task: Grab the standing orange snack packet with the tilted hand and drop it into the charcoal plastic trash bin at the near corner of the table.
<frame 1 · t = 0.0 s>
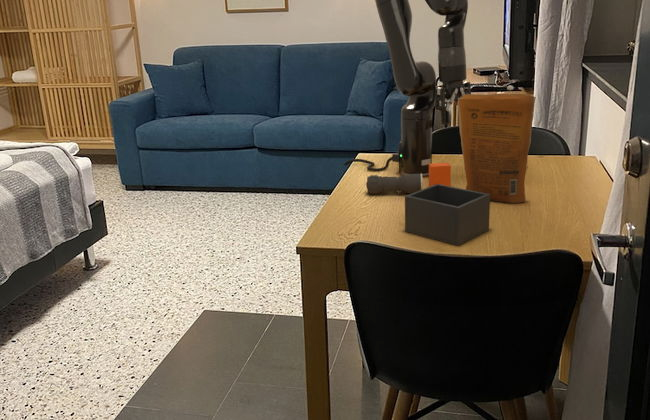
hand: (454, 121, 187), 17 cm above the table, tool pointing down, fingers open, 8 cm apart
trash bin: (446, 230, 153), on the table
pancake mix bag: (493, 200, 174), on the table
flashlight: (395, 194, 183), on the table
french press: (509, 168, 203), on the table
packet: (439, 205, 170), on the table
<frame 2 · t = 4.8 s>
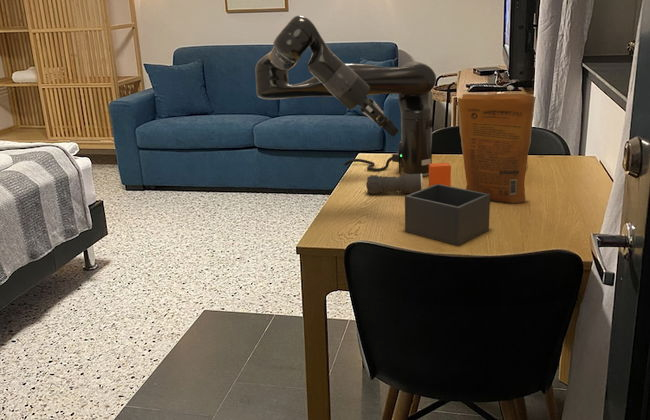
hand: (393, 130, 164), 20 cm above the table, tool tilted 45°, fingers open, 8 cm apart
nothing on the table moved.
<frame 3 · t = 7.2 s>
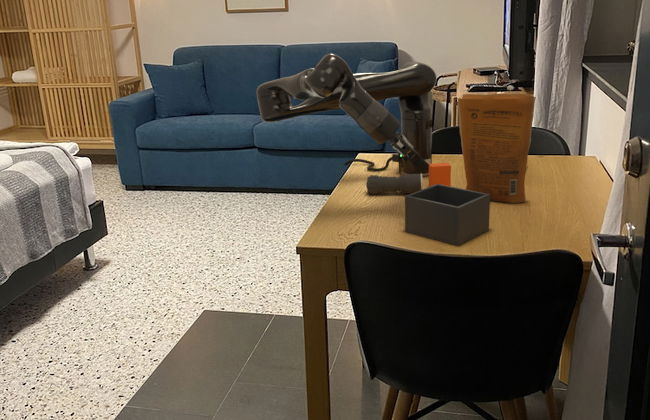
hand: (422, 163, 167), 12 cm above the table, tool tilted 45°, fingers open, 8 cm apart
nothing on the table moved.
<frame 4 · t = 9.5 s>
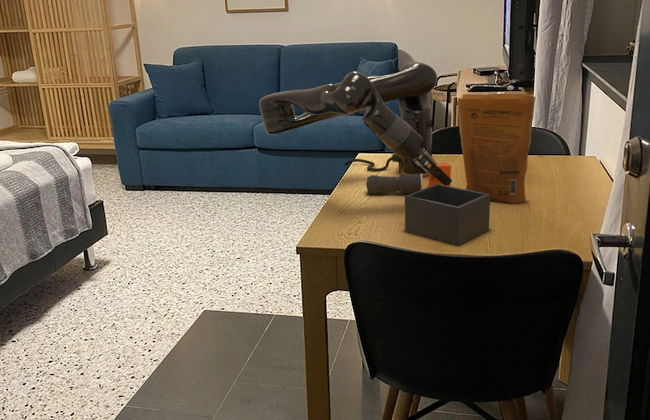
hand: (447, 181, 169), 6 cm above the table, tool tilted 45°, fingers closed on packet, 3 cm apart
packet: (439, 205, 170), on the table, touching gripper
everything else where it was.
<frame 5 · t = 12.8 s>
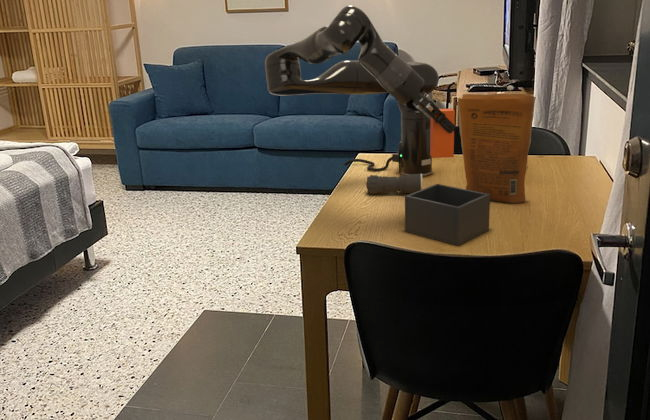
hand: (450, 128, 155), 22 cm above the table, tool tilted 45°, fingers closed on packet, 3 cm apart
packet: (441, 156, 157), point 15 cm above the table, touching gripper
everything else where it was.
when the fingers open (15 cm above the table, at t = 16.2 s): packet drops 8 cm, resting on trash bin.
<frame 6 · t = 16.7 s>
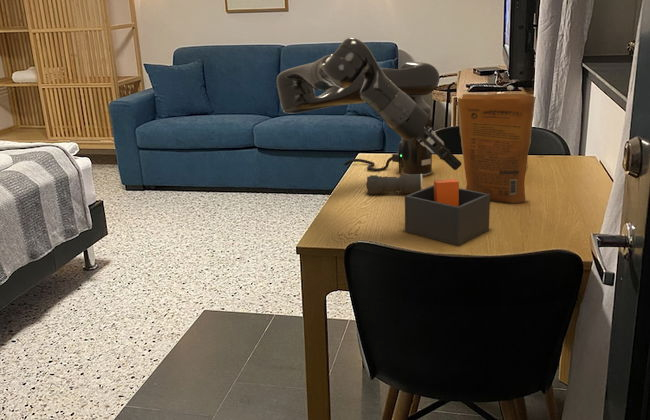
hand: (453, 162, 148), 16 cm above the table, tool tilted 45°, fingers open, 8 cm apart
packet: (446, 227, 153), point 1 cm above the table, touching trash bin
everything else where it was.
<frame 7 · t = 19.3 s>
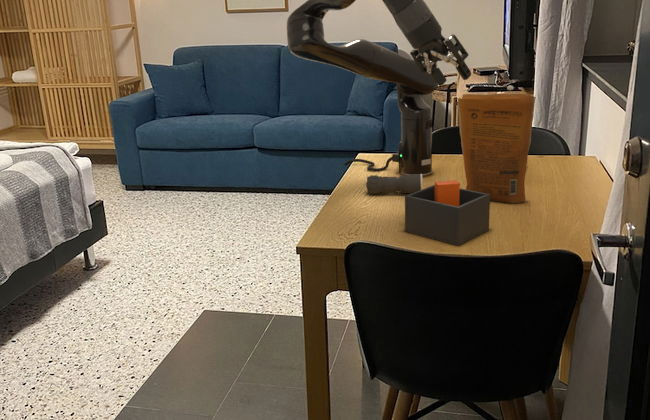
hand: (455, 80, 150), 33 cm above the table, tool tilted 35°, fingers open, 8 cm apart
nothing on the table moved.
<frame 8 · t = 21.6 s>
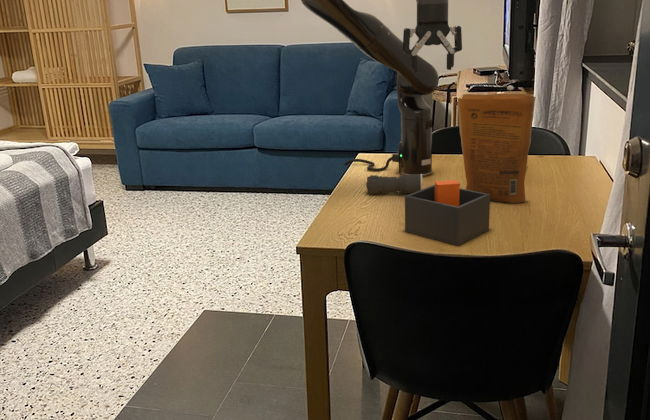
hand: (432, 70, 164), 34 cm above the table, tool pointing down, fingers open, 8 cm apart
nothing on the table moved.
at the end: packet inside the target area in the trash bin (0.1 cm from its centre), point 0.6 cm above the trash bin's base; the gripper is holding nothing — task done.
